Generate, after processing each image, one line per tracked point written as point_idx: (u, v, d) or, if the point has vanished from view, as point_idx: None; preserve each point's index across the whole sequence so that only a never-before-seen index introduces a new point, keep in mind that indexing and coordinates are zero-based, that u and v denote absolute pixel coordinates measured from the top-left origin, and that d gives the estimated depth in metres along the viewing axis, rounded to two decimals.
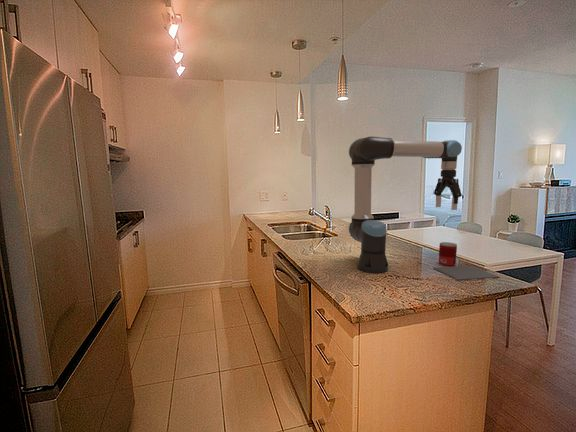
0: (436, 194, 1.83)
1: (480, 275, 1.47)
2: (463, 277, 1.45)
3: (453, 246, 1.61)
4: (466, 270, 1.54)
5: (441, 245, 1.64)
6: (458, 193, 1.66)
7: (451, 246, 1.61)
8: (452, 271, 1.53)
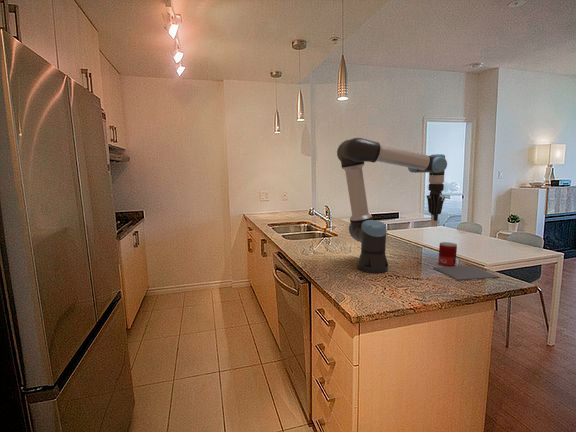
0: (431, 212, 1.76)
1: (480, 275, 1.47)
2: (463, 277, 1.45)
3: (453, 246, 1.61)
4: (466, 270, 1.54)
5: (441, 245, 1.64)
6: (438, 211, 1.72)
7: (451, 246, 1.61)
8: (452, 271, 1.53)
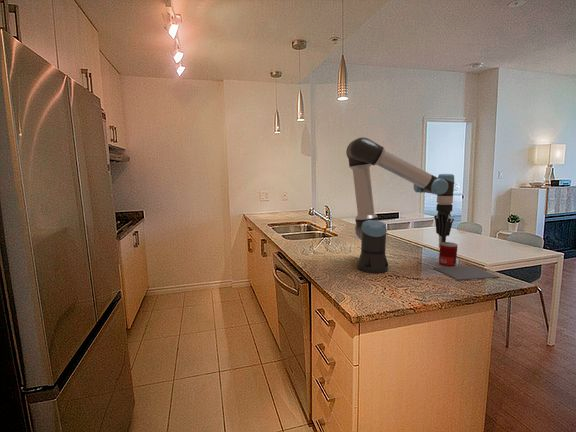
0: (439, 233, 1.70)
1: (480, 275, 1.47)
2: (463, 277, 1.45)
3: (453, 246, 1.61)
4: (466, 270, 1.54)
5: (441, 245, 1.64)
6: (447, 233, 1.65)
7: (451, 246, 1.61)
8: (452, 271, 1.53)
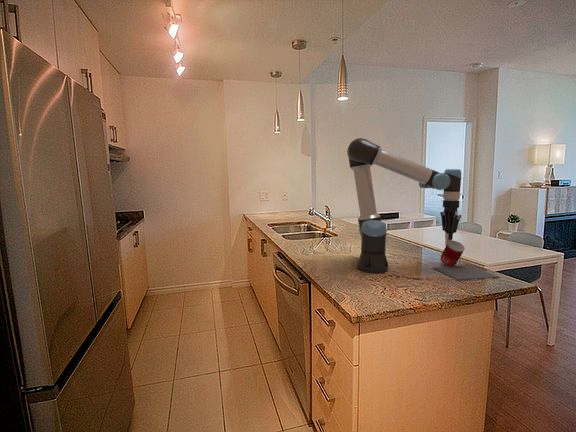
0: (445, 230, 1.65)
1: (480, 275, 1.47)
2: (463, 277, 1.45)
3: (460, 251, 1.56)
4: (466, 270, 1.54)
5: (448, 246, 1.59)
6: (453, 230, 1.60)
7: (458, 251, 1.56)
8: (452, 271, 1.53)
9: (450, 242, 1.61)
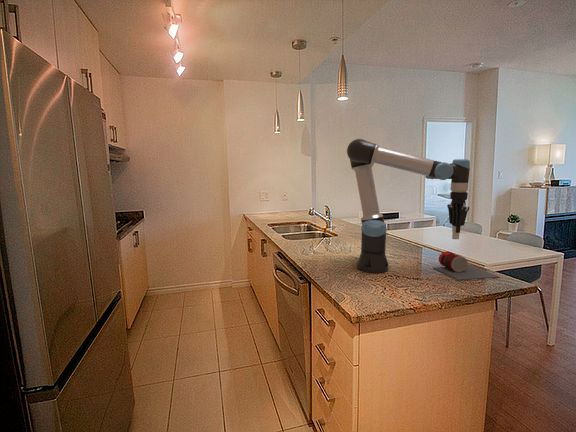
0: (453, 223, 1.59)
1: (480, 275, 1.47)
2: (463, 277, 1.45)
3: None
4: (466, 270, 1.54)
5: (454, 270, 1.52)
6: (461, 223, 1.54)
7: None
8: (452, 271, 1.53)
9: (453, 264, 1.51)
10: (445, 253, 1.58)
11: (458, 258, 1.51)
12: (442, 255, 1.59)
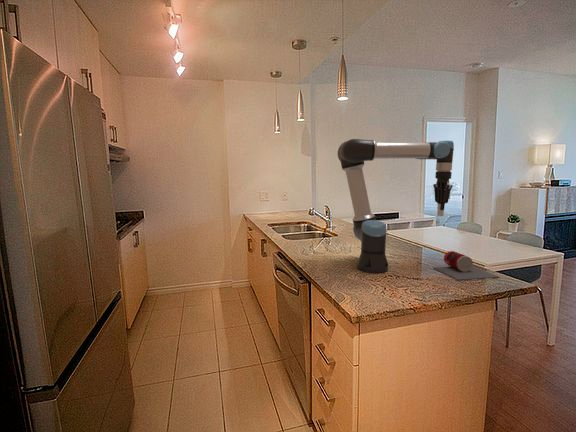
0: (438, 201, 1.70)
1: (480, 275, 1.47)
2: (463, 277, 1.45)
3: None
4: None
5: (457, 266, 1.52)
6: (445, 200, 1.65)
7: (464, 271, 1.52)
8: (452, 271, 1.53)
9: (461, 259, 1.51)
10: (455, 252, 1.59)
11: (468, 258, 1.51)
12: (452, 251, 1.59)
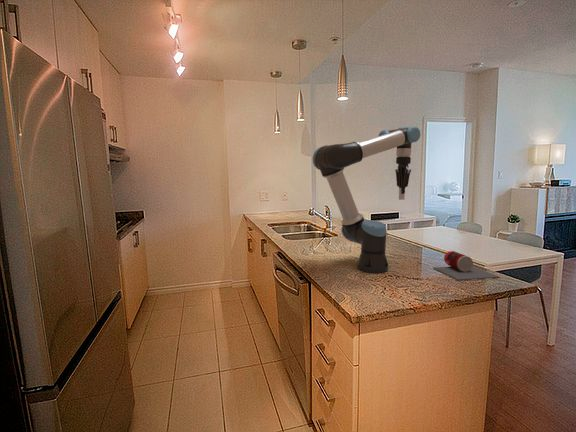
0: (399, 186, 1.79)
1: (480, 275, 1.47)
2: (463, 277, 1.45)
3: None
4: None
5: (457, 265, 1.52)
6: (405, 184, 1.74)
7: (464, 271, 1.52)
8: (452, 271, 1.53)
9: (461, 259, 1.51)
10: (456, 252, 1.59)
11: (468, 258, 1.51)
12: (452, 251, 1.59)
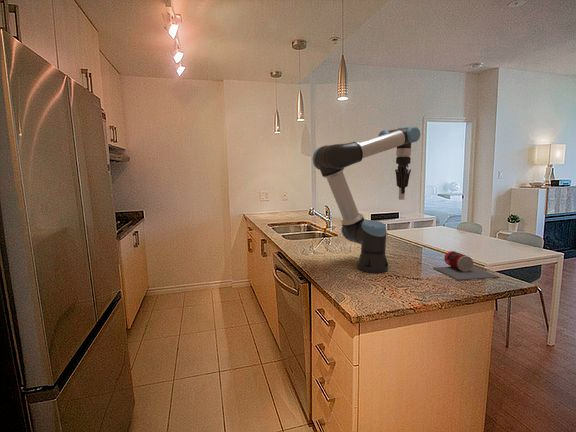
0: (399, 186, 1.79)
1: (480, 275, 1.47)
2: (463, 277, 1.45)
3: None
4: None
5: (457, 265, 1.52)
6: (405, 184, 1.74)
7: (464, 271, 1.52)
8: (452, 271, 1.53)
9: (462, 259, 1.51)
10: (456, 252, 1.59)
11: (468, 258, 1.51)
12: (453, 251, 1.59)
